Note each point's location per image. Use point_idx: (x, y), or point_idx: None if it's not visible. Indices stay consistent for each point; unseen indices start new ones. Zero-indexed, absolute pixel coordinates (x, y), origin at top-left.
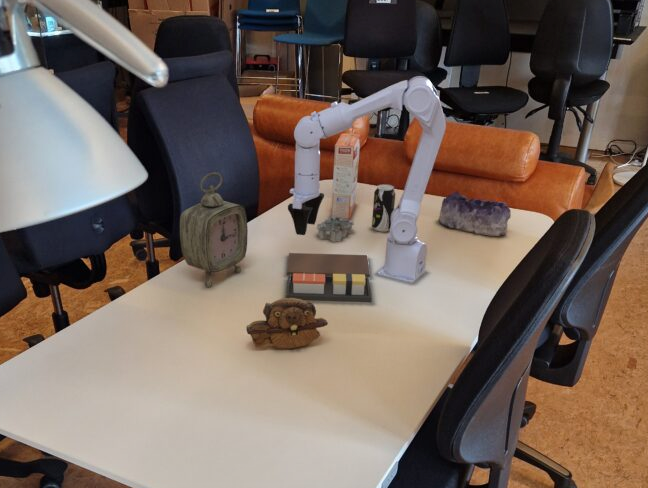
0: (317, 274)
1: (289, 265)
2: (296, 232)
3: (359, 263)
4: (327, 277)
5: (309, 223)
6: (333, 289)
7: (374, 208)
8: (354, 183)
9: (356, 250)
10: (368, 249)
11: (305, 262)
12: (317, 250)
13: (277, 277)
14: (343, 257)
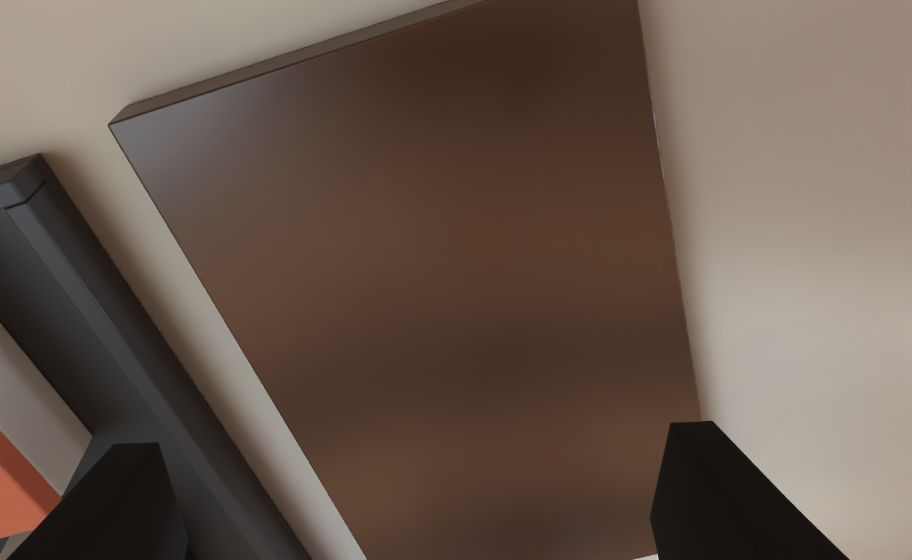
0: (1, 487)
1: (274, 90)
2: (95, 471)
3: (551, 538)
4: (188, 454)
5: (663, 471)
6: (9, 539)
7: None
8: None
9: (874, 423)
10: (898, 478)
11: (422, 211)
12: (855, 164)
13: (44, 19)
14: (635, 435)
